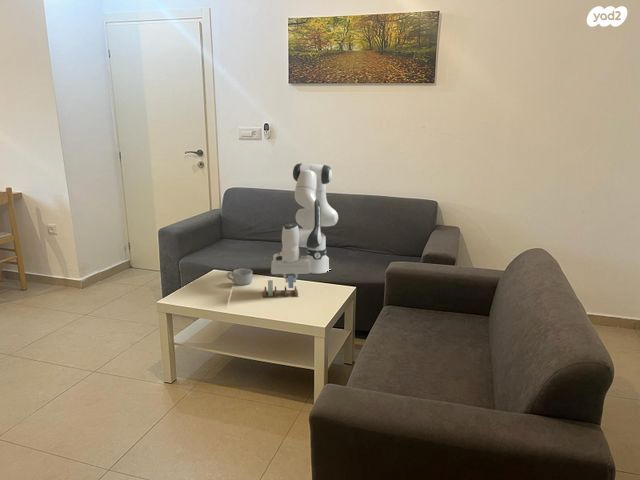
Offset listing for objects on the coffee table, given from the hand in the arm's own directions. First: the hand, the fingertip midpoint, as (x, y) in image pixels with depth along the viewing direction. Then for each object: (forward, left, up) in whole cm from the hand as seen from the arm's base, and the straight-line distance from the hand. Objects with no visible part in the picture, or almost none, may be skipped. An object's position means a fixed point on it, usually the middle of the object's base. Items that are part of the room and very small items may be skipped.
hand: (290, 282), depth 240 cm
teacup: (-21, -27, -8) cm, 35 cm away
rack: (0, -5, -7) cm, 9 cm away
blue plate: (0, 0, -2) cm, 2 cm away
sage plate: (0, -10, -6) cm, 12 cm away
